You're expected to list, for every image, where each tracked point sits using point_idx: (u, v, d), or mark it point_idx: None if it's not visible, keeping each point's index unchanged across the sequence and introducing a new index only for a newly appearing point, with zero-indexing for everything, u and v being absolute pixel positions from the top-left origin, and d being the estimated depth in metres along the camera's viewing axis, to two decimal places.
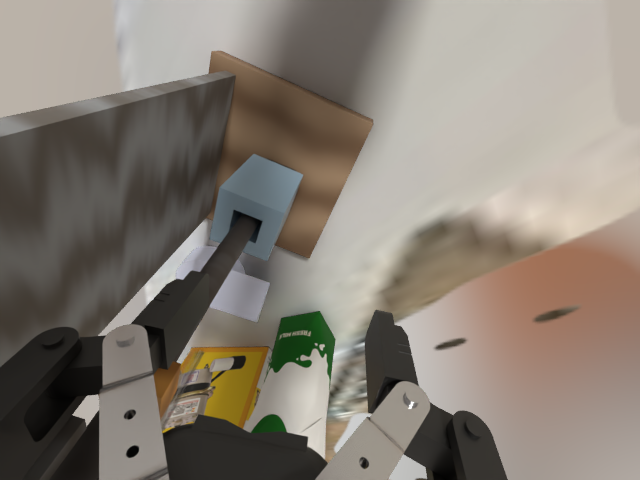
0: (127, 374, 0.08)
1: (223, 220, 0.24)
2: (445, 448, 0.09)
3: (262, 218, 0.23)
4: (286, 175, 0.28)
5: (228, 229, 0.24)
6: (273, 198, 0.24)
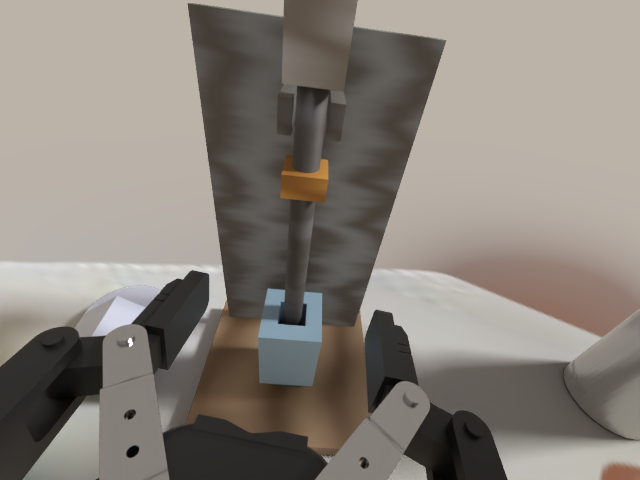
0: (127, 374, 0.08)
1: None
2: (445, 448, 0.09)
3: (307, 325, 0.25)
4: None
5: (283, 301, 0.27)
6: None
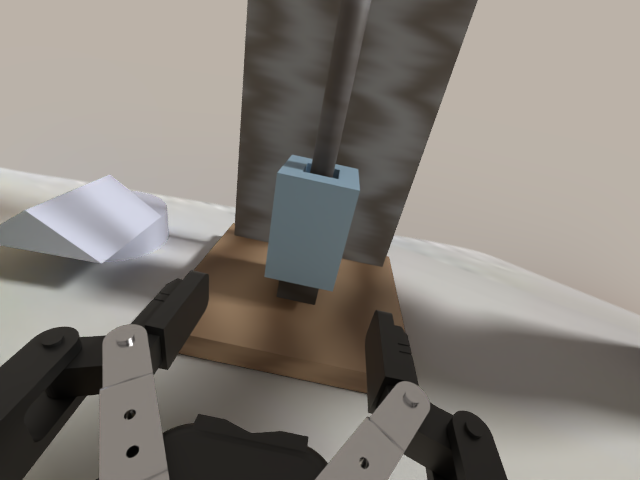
0: (127, 374, 0.08)
1: None
2: (445, 448, 0.09)
3: (341, 179, 0.19)
4: None
5: (311, 164, 0.21)
6: None
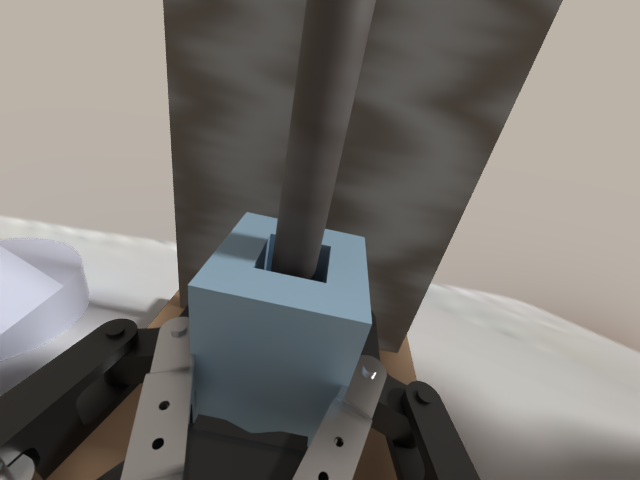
0: (172, 364, 0.09)
1: None
2: (398, 414, 0.10)
3: (331, 283, 0.09)
4: None
5: None
6: None
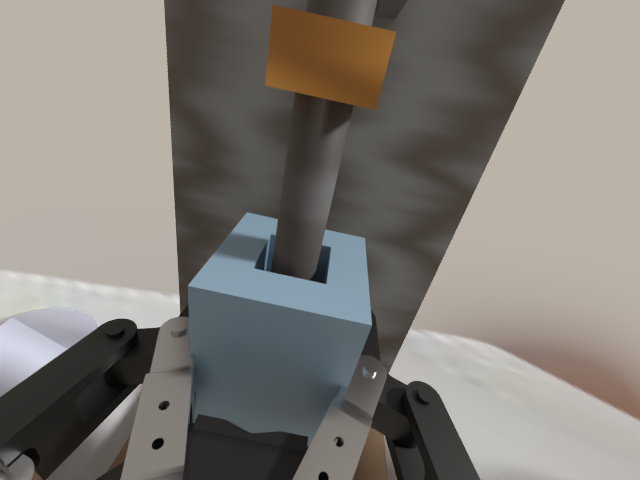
0: (172, 364, 0.09)
1: None
2: (398, 414, 0.10)
3: (331, 284, 0.09)
4: None
5: None
6: None
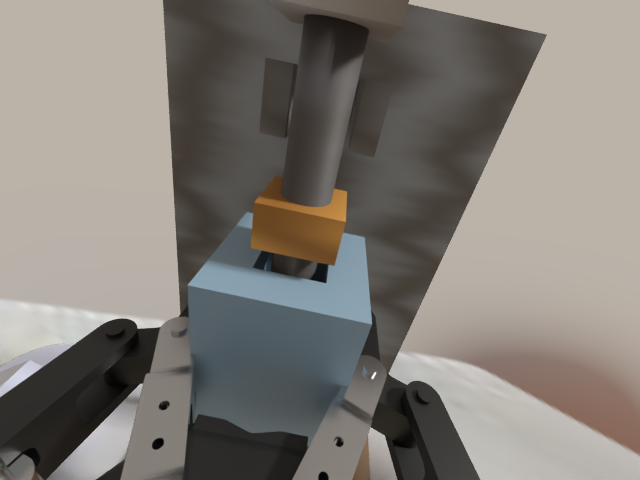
0: (172, 364, 0.09)
1: None
2: (398, 414, 0.10)
3: (331, 283, 0.09)
4: None
5: None
6: None
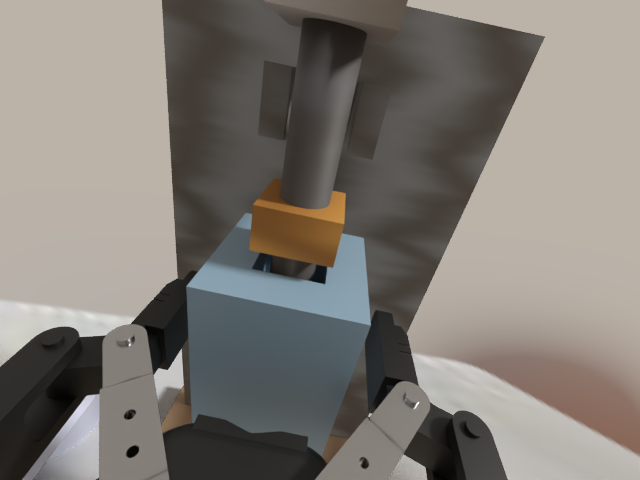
0: (127, 374, 0.08)
1: None
2: (445, 448, 0.09)
3: (330, 284, 0.09)
4: None
5: None
6: None
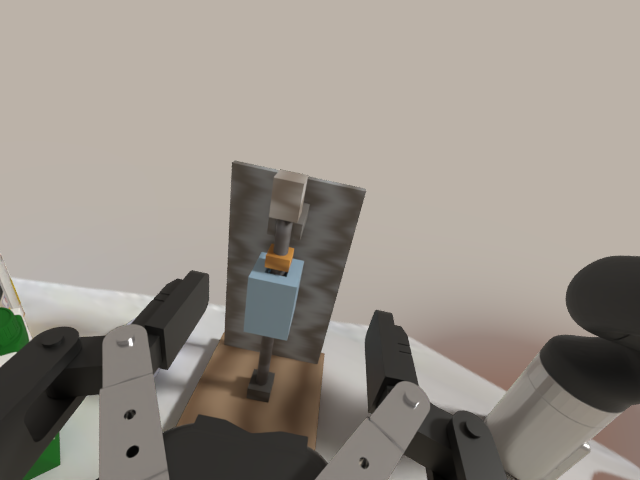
0: (127, 374, 0.08)
1: None
2: (445, 448, 0.09)
3: (288, 276, 0.32)
4: (291, 321, 0.35)
5: None
6: None
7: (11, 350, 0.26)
